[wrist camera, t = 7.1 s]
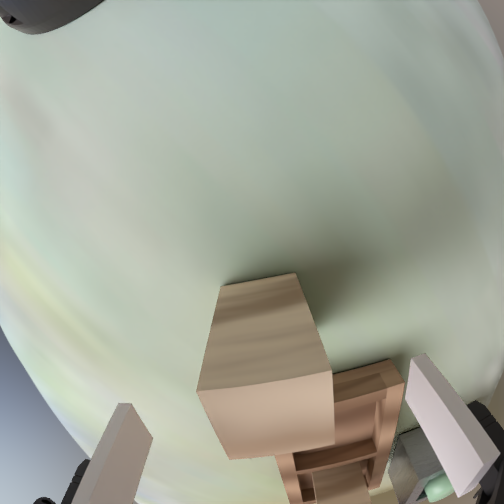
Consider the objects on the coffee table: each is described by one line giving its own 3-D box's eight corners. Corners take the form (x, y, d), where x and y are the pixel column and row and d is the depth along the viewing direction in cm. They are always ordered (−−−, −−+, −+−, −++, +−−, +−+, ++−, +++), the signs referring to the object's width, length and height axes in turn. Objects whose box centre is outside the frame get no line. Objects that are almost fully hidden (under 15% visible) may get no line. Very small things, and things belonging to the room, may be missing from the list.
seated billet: (310, 464, 24) (323, 542, 14) (356, 453, 24) (378, 528, 14) (312, 482, 25) (323, 550, 16) (354, 473, 25) (371, 539, 16)
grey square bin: (399, 435, 25) (418, 480, 18) (467, 405, 24) (492, 441, 18) (388, 472, 28) (401, 509, 21) (448, 447, 27) (466, 479, 20)
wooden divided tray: (261, 388, 22) (262, 416, 19) (390, 358, 21) (405, 382, 18) (289, 487, 28) (291, 507, 24) (373, 468, 27) (379, 487, 24)
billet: (220, 286, 19) (196, 391, 10) (295, 272, 19) (331, 370, 10) (237, 347, 21) (229, 459, 11) (304, 335, 21) (334, 443, 11)
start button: (428, 471, 20) (436, 490, 17) (467, 451, 20) (477, 468, 17) (417, 490, 22) (424, 507, 19) (454, 472, 21) (462, 488, 18)
